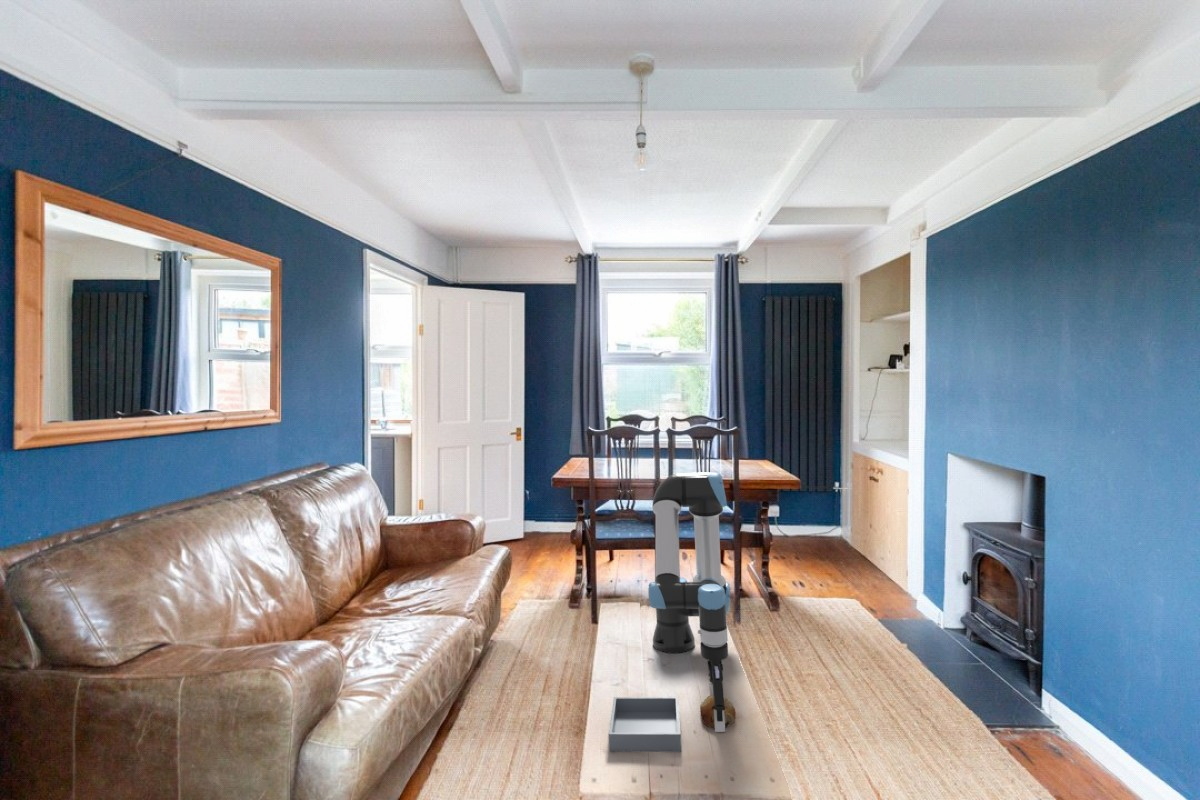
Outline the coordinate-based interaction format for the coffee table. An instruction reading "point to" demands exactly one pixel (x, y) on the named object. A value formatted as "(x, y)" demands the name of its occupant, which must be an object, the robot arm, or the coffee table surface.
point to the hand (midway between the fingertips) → (717, 718)
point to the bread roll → (708, 712)
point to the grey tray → (645, 724)
